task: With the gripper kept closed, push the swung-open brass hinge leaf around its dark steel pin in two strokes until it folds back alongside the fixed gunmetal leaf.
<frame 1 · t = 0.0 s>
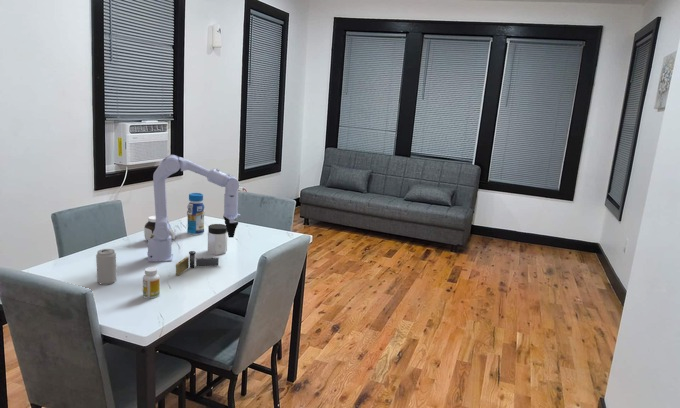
hand: (230, 234, 211), 10 cm above the table, fingers open, 7 cm apart
brass leaf: (182, 265, 191), point 3 cm above the table, hinge at 115.0°
supplement bottle: (151, 295, 169), on the table
beverage bottle: (195, 233, 244), on the table
spread jar: (160, 241, 228), on the table
hinge base: (192, 267, 197), on the table
jar: (217, 252, 218), on the table
beverage can: (107, 282, 177), on the table
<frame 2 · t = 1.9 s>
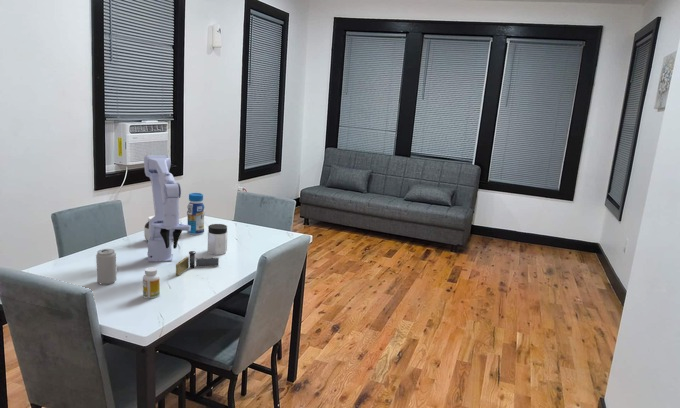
hand: (171, 247, 190), 10 cm above the table, fingers closed
nothing on the table moved.
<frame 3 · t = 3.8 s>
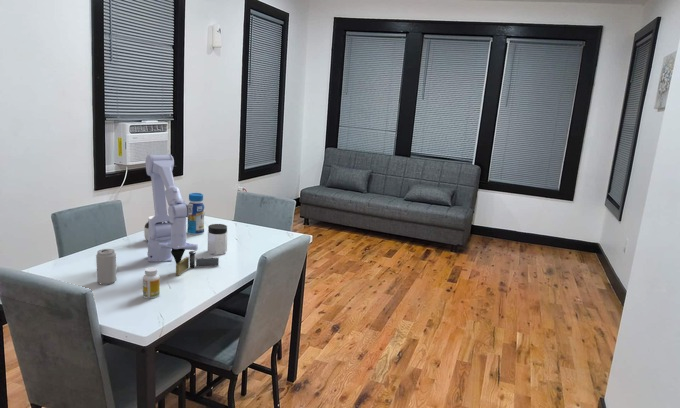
hand: (178, 266, 192), 2 cm above the table, fingers closed, pressing on brass leaf
brass leaf: (182, 265, 191), point 3 cm above the table, hinge at 115.0°, touching gripper
everything else where it was.
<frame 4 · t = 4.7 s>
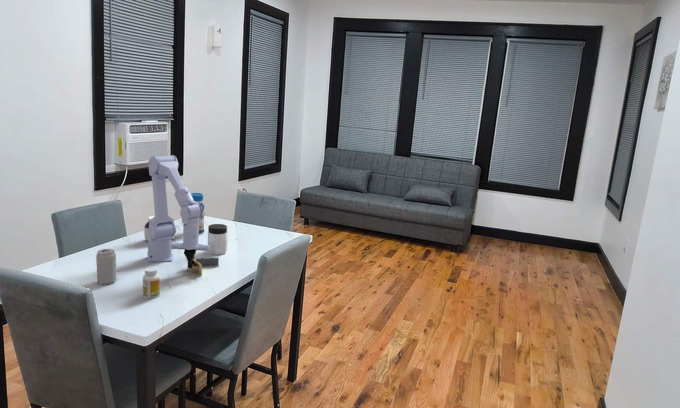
hand: (190, 267, 191), 2 cm above the table, fingers closed, pressing on brass leaf
brass leaf: (195, 266, 192), point 3 cm above the table, hinge at 65.5°, touching gripper
everything else where it was.
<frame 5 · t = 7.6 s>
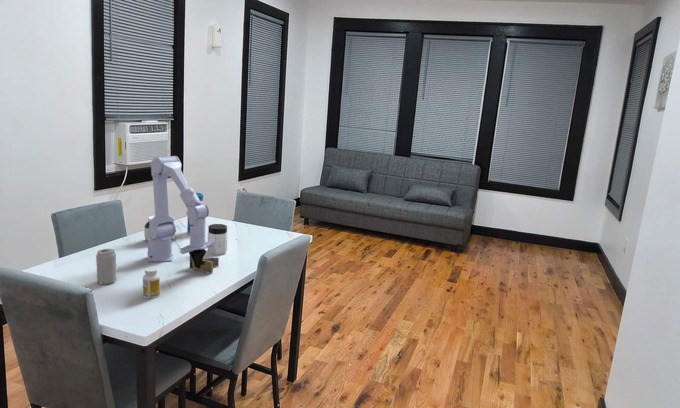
hand: (197, 267, 192), 2 cm above the table, fingers closed, pressing on brass leaf
brass leaf: (202, 264, 194), point 3 cm above the table, hinge at 37.0°, touching gripper
everything else where it was.
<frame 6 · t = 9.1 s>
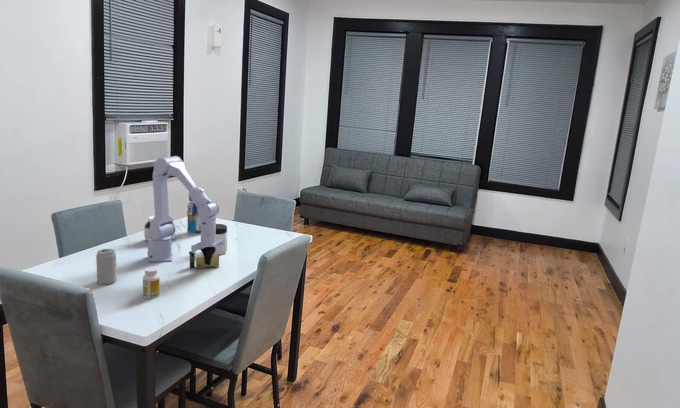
hand: (207, 264, 196), 2 cm above the table, fingers closed
brass leaf: (207, 261, 198), point 3 cm above the table, hinge at -6.1°, touching gripper
everything else where it was.
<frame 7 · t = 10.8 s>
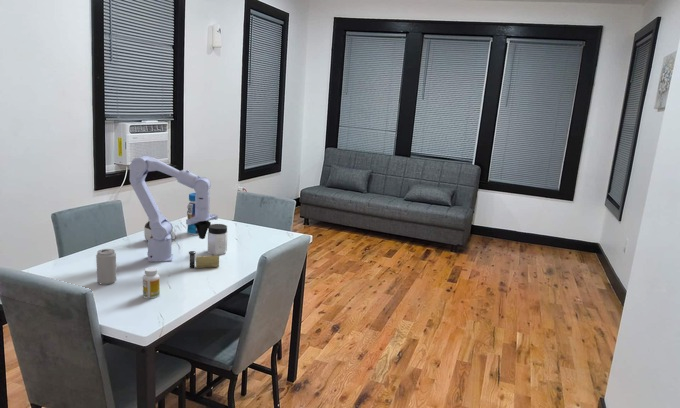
hand: (202, 238, 204), 10 cm above the table, fingers closed
brass leaf: (207, 261, 198), point 3 cm above the table, hinge at -6.2°
everything else where it was.
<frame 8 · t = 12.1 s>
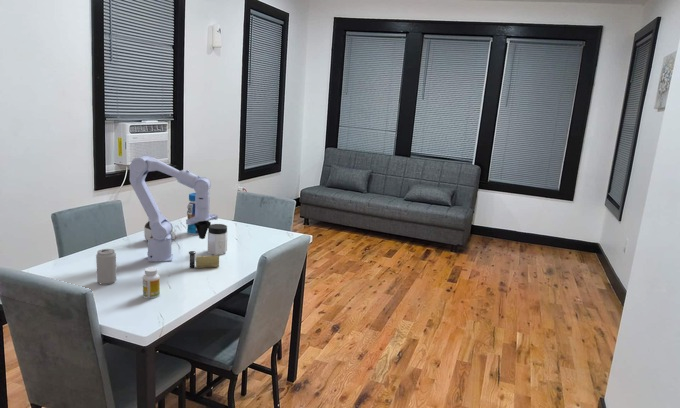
hand: (202, 238, 204), 10 cm above the table, fingers closed
nothing on the table moved.
at the end: brass leaf at -6° (first picture: +115°) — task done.
